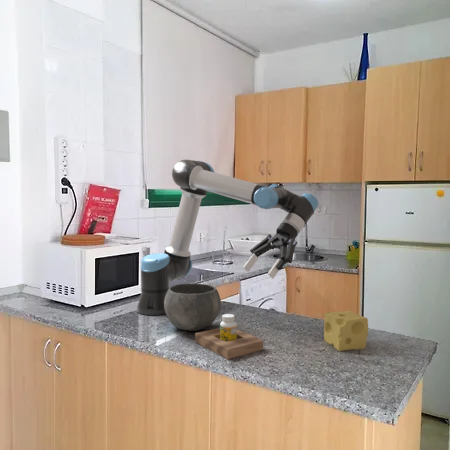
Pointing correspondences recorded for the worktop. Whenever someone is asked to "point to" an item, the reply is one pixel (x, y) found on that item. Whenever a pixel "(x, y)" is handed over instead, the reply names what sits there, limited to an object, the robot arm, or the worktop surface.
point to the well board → (229, 343)
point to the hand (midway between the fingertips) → (257, 272)
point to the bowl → (192, 306)
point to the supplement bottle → (228, 328)
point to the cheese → (345, 330)
